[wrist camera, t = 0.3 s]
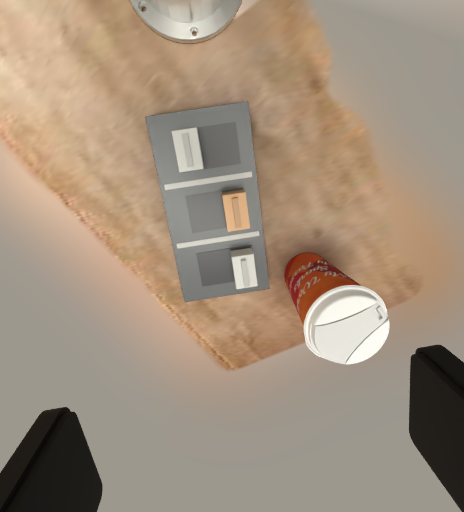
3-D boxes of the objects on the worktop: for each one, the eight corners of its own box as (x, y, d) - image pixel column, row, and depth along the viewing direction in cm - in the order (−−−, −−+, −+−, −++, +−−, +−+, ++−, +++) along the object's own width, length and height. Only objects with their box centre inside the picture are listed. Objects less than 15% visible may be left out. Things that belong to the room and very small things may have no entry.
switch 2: (221, 192, 36) (222, 196, 33) (243, 189, 36) (246, 192, 33) (226, 226, 37) (228, 233, 34) (247, 223, 37) (250, 229, 34)
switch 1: (174, 132, 34) (170, 130, 31) (197, 129, 34) (196, 126, 31) (181, 171, 35) (178, 172, 32) (203, 167, 35) (203, 169, 32)
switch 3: (230, 250, 38) (232, 259, 35) (250, 247, 38) (254, 255, 35) (235, 281, 39) (237, 291, 36) (254, 278, 39) (258, 288, 36)
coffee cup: (314, 232, 42) (368, 273, 27) (345, 277, 44) (410, 337, 30) (263, 269, 43) (289, 327, 29) (296, 311, 45) (335, 384, 31)
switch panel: (150, 119, 36) (145, 116, 33) (245, 105, 36) (248, 101, 33) (186, 292, 43) (184, 302, 40) (265, 279, 43) (269, 289, 40)
